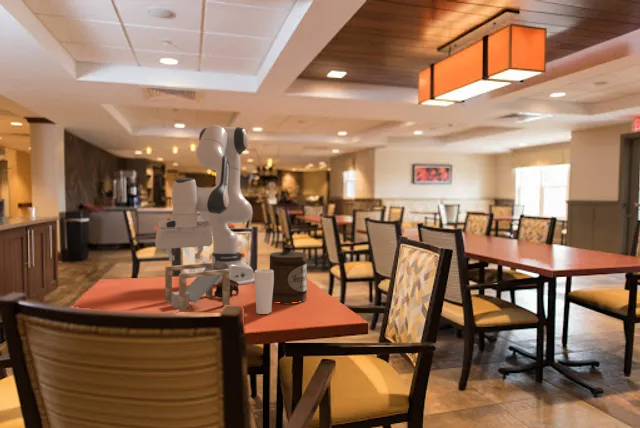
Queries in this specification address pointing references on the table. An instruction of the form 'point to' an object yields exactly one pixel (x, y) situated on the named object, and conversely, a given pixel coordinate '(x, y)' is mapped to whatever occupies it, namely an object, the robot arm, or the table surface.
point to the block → (177, 299)
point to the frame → (190, 275)
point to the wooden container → (289, 275)
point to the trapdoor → (204, 282)
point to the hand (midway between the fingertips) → (184, 259)
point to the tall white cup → (263, 290)
